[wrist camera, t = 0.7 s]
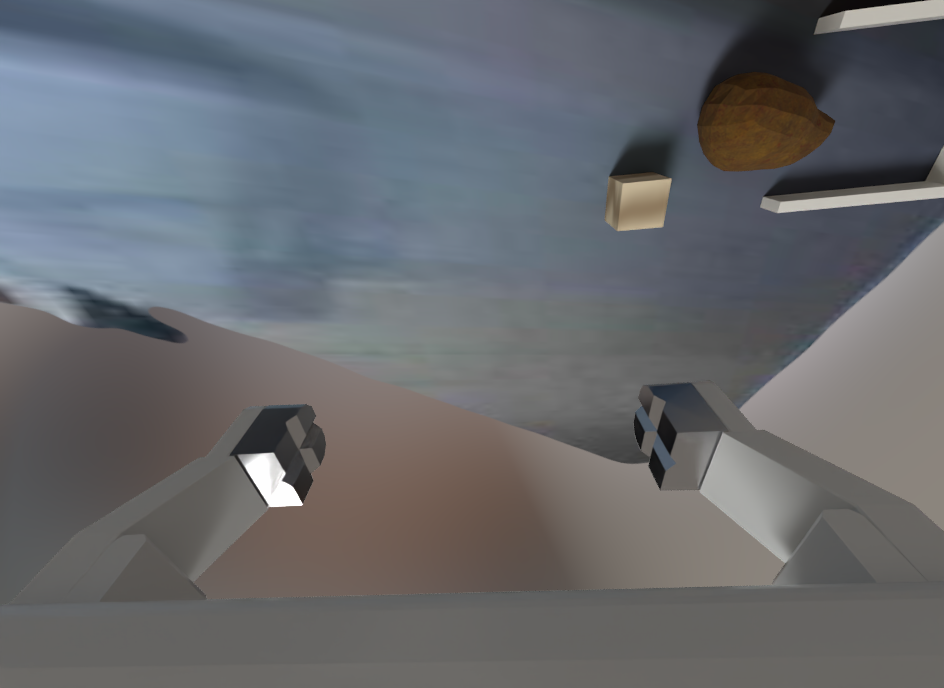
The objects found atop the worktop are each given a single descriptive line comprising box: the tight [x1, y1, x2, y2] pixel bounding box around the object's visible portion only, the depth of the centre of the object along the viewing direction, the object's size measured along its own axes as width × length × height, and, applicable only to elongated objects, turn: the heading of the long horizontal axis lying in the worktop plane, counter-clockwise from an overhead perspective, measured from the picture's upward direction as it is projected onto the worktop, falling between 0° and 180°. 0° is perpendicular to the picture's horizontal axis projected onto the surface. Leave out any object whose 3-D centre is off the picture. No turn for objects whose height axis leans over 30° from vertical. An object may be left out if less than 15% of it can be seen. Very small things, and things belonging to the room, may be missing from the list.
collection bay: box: [760, 0, 944, 213], centre depth 38 cm, size 17×19×3 cm
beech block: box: [605, 172, 672, 231], centre depth 42 cm, size 5×5×5 cm
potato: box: [697, 72, 835, 171], centre depth 36 cm, size 8×12×9 cm
